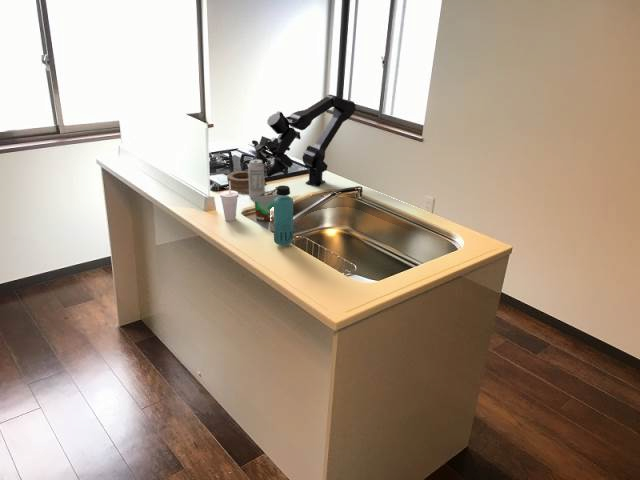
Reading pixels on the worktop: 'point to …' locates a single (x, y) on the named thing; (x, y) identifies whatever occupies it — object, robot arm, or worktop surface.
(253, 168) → the energy drink can
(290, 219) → the beverage bottle
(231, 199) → the smoothie
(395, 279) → the worktop surface
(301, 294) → the worktop surface
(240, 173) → the brown round bowl
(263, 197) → the food container
